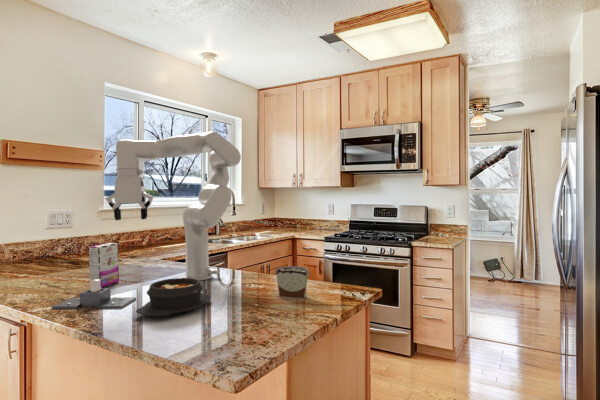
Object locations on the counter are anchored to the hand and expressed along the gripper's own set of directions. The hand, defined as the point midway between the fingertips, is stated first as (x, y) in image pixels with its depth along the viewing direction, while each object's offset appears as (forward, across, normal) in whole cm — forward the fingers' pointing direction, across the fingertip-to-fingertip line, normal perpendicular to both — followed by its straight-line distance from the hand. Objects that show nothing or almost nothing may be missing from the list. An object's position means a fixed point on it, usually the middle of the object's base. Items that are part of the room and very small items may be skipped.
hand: (131, 219), depth 142 cm
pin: (+26, +6, +17) cm, 32 cm away
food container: (+28, -60, +9) cm, 67 cm away
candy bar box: (+27, +16, -9) cm, 33 cm away
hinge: (+26, +6, +17) cm, 32 cm away
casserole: (+27, -23, +23) cm, 43 cm away
